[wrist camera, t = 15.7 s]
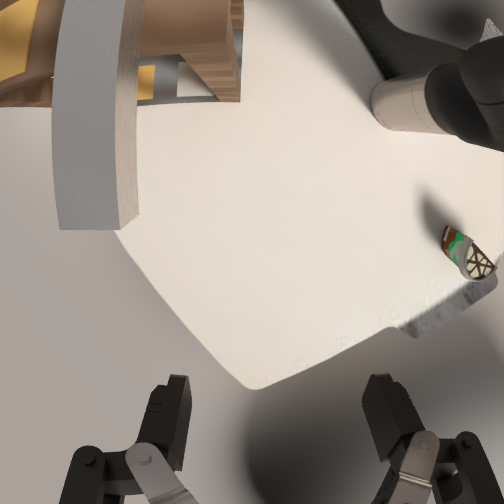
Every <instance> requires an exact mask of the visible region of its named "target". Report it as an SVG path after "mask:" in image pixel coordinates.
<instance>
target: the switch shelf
mask: <svg viewBox="0 0 504 504" xmlns="http://www.w3.org/2000/svg"><path fill="white" fill-rule="evenodd" d="M65 1H66V0H0V107H50V108H52V95H53V80H54V78H50V77H53V76H54V68H55V59H56V51H57V44H58V37H59V31H60V25H61V20H62V15H63V10H64V5H65ZM243 24H244V0H146V3H145V10H144V18H143V26H142V35H141V45H140V56H139V70H138V87H137V106H145V105H157V104H171V103H192V102H240V90H241V66H242V44H243Z"/></svg>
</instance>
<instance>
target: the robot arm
mask: <svg viewBox="0 0 504 504" xmlns="http://www.w3.org/2000/svg"><path fill="white" fill-rule="evenodd" d="M371 108H372V111H373V114H374V116H375V118H376V119H377V120H378V122H379V123H380V124H381V125H383V126H384V127H385V128H387V129H390V130H393V131H406V132H422V133H435V134H447V135H456V136H457V137H458V138H460V139H461V140H463V141H465V142H467V143H470V144H475V145H479V146H483V147H486V148H490V149H494V150H497V151H501V152H504V35H503V36H498V37H494V38H490V39H487V40H484V41H482V42H479V43H477V44H475V45H474V46H472V47H471V48H469V49H468V50H467V51H466V52H465V53H464V54H463V55H462V57H461V59H460V62H459V64H456V63H447V64H443V65H439V66H435V67H431V68H427V69H424V70H422V69H421V70H418V71H414V72H411V73H407V74H404V75H401V76H397V77H395V78H393V79H389V80H386V81H383V82H381V83H379V84H378V85H377V86H376V87H375V88H374V90H373V92H372V95H371ZM362 407H363V410H364V413H365V416H366V419H367V422H368V425H369V428H370V431H371V434H372V437H373V439H374V443H375V446H376V449H377V452H378V455H379V458H380V462H381V463H383V462H387V461H390V464H391V466H390V467H389V469H388V471H387V473H386V475H385V478H384V479H383V482H382V484H381V486H380V488H379V490H378V492H377V494H376V496H375V497H374V499H373V501H372V502H371V503H370V504H426V503H427V500H428V498H429V495H430V492H431V489H432V491H433V494H434V497H435V501H436V504H504V498H503V496H502V493H501V491H500V488H499V485H498V483H497V480H496V478H495V475H494V473H493V470H492V468H491V465H490V463H489V461H488V459H487V456H486V454H485V452H484V450H483V447H482V445H481V443H480V441H479V439H478V437H477V436H476V435H475V434H473V433H472V432H468V431H464V432H461V433H460V434H458V436H457V437H456V438H455V439H440V438H438V437H437V436H436V435H435V434H434V433H432V432H430V431H426V430H425V428H424V426H423V424H422V422H421V419H420V417H419V415H418V413H417V411H416V409H415V407H414V406H413V403H412V401H411V399H410V398H409V395H408V393H407V391H406V389H405V388H404V387H403V386H402V385H401V384H400V383H399V382H393V380H392V378H391V376H390V374H389V373H387V372H384V373H376V374H372V375H371V376H370V379H369V381H368V384H367V386H366V389H365V391H364V393H363V396H362ZM191 410H192V397H191V390H190V383H189V377H188V376H185V375H174V374H171V375H170V377H169V381H168V384H167V386H165V385H158V386H157V387H156V388H155V389H154V390H153V391H152V392H151V395H150V398H149V402H148V405H147V408H146V412H145V414H144V418H143V421H142V424H141V428H140V431H139V435H138V438H137V441H136V442H135V444H134V445H132V446H131V447H130V448H129V449H127V450H125V451H120V452H106V453H105V452H104V453H103V452H102V451H101V450H100V449H99V448H97V447H94V446H83V447H81V448H79V449H77V450H76V451H75V453H74V455H73V457H72V461H71V464H70V467H69V470H68V473H67V477H66V480H65V484H64V487H63V491H62V494H61V498H60V502H59V504H124V497H125V495H136V494H145V496H146V498H147V499H148V501H149V503H150V504H199V503H198V502H197V501H196V499H195V498H194V497H193V495H192V494H191V493H190V492H189V491H188V490H186V488H185V487H184V486H183V485H182V483H181V482H180V480H179V479H178V478H177V476H176V475H175V473H174V472H175V470H176V471H182V466H183V459H184V453H185V447H186V439H187V434H188V428H189V422H190V416H191ZM429 481H430V483H429Z"/></svg>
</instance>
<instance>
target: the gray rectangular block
mask: <svg viewBox="0 0 504 504" xmlns="http://www.w3.org/2000/svg"><path fill="white" fill-rule="evenodd" d="M145 3H146V0H66V1H65V5H64V10H63V15H62V20H61V25H60V31H59V37H58V44H57V51H56V59H55V68H54V80H53V95H52V160H53V176H54V188H55V198H56V206H57V214H58V222H59V229H60V230H121V229H122V228H123V227H124V226H126V225H127V224H128V223H129V222H130V221H132V220H133V219H134V218H135V217H137V216H138V215H139V204H138V185H137V153H136V118H137V87H138V70H139V56H140V45H141V35H142V26H143V18H144V10H145Z"/></svg>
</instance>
